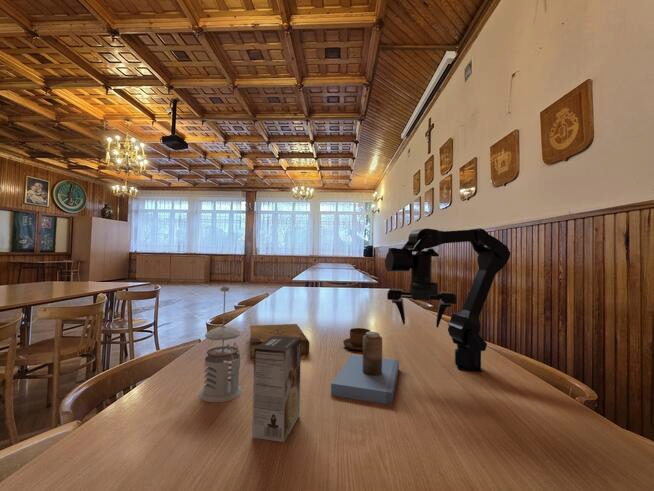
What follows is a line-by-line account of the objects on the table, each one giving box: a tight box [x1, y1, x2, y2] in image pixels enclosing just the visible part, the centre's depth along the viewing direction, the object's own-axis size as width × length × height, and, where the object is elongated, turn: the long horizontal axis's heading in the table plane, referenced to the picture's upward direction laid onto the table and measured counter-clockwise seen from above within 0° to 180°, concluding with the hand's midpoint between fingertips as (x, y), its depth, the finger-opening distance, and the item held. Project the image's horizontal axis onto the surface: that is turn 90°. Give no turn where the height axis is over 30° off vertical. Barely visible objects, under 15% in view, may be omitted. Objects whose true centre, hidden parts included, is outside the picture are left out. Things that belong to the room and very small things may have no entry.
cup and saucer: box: [342, 327, 371, 351], centre depth 108 cm, size 12×12×6 cm
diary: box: [249, 323, 310, 360], centre depth 107 cm, size 23×19×6 cm
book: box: [330, 354, 400, 406], centre depth 79 cm, size 14×22×3 cm, turn 163°
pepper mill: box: [362, 331, 383, 376], centre depth 78 cm, size 5×5×10 cm
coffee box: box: [251, 336, 302, 443], centre depth 57 cm, size 9×6×16 cm
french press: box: [198, 285, 244, 403], centre depth 71 cm, size 10×12×25 cm
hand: (420, 325), depth 87 cm, fingers open, 9 cm apart
